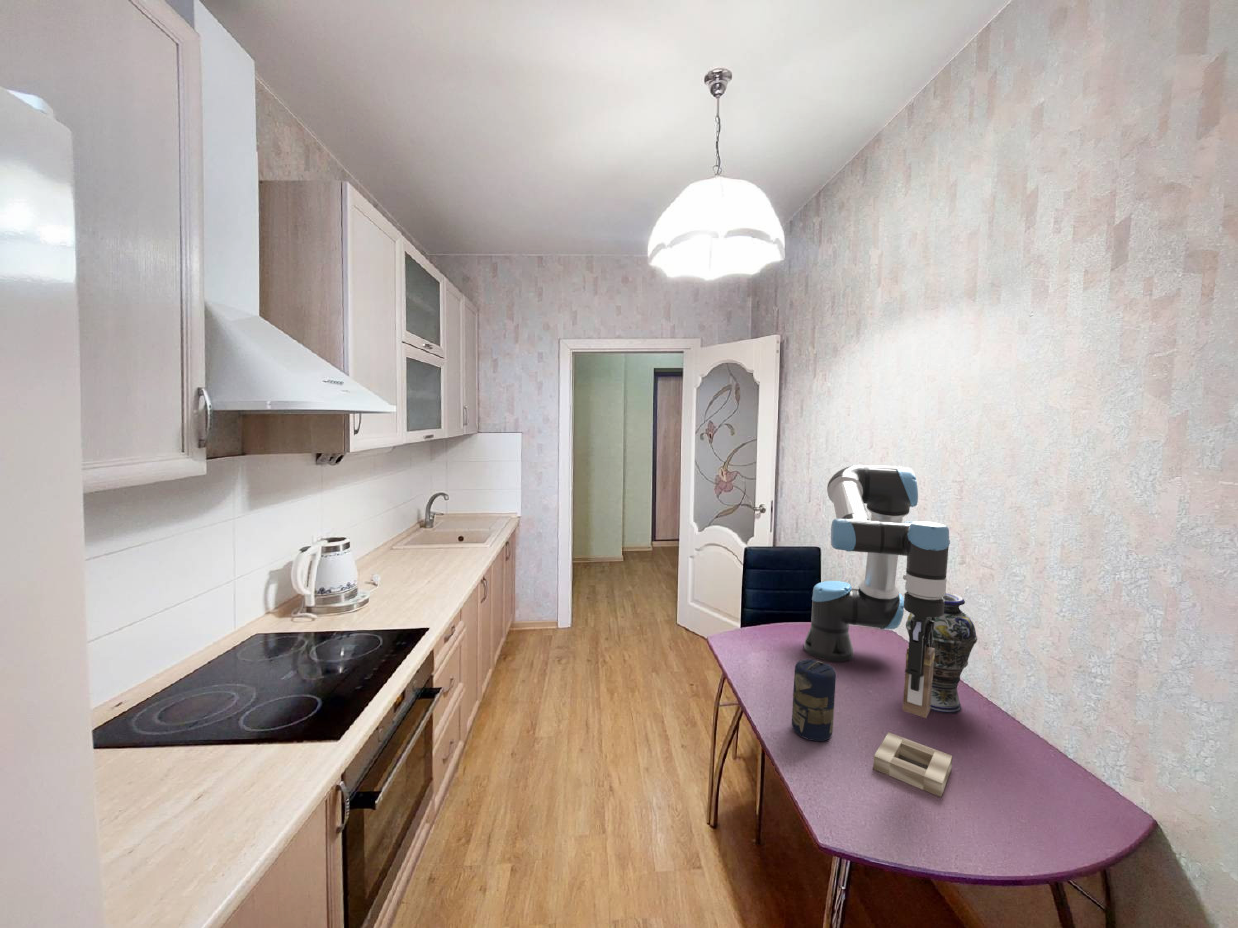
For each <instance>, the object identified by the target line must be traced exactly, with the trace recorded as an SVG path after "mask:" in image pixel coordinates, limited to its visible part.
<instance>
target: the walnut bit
mask: <svg viewBox="0 0 1238 928" xmlns="http://www.w3.org/2000/svg"><path fill="white" fill-rule="evenodd" d="M908 651H909V645H908V646H907V648H906V653H905V667H904V668H905V669H904V686H903V696H902V697H903V700H902V712H903V711H904V712H906V713H909V714H913V715H915V716H918V717H921V718H925V719H927V717H928V716H929V713H930V711H931V710H930V708H931V694H932V680H933V666H934V656H935V653H934V652H935V648H932V647H926V650H925V659H924V668H923V675H924V685H923V699H922V706H919V705H916V704H913V703H910V702H907V697H908V683H909V674H907V673H906V672H905V670H906V669H907V667H908Z"/></svg>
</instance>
